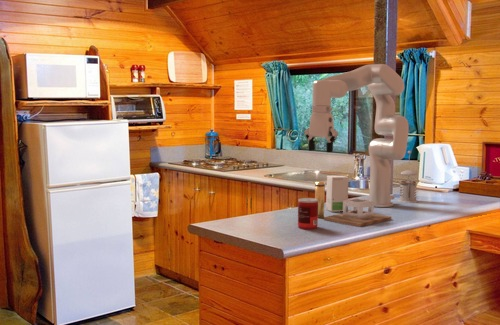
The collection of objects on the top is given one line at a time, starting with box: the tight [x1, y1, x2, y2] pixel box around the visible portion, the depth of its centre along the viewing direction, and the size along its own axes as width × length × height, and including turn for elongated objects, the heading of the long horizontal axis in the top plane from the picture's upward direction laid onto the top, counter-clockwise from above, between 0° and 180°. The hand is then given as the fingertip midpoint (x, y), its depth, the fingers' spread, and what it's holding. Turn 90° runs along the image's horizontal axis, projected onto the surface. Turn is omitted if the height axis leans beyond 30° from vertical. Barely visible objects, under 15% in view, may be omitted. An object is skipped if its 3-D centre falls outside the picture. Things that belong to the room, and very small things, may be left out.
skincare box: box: [325, 175, 350, 213], centre depth 269 cm, size 8×7×16 cm
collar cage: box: [342, 197, 375, 220], centre depth 249 cm, size 9×9×7 cm
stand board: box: [323, 212, 392, 228], centre depth 250 cm, size 22×18×1 cm
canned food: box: [297, 197, 319, 230], centre depth 233 cm, size 8×8×11 cm
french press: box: [397, 150, 419, 204], centre depth 295 cm, size 10×12×25 cm
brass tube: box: [314, 181, 326, 219], centre depth 253 cm, size 4×4×15 cm
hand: (320, 151), depth 251 cm, fingers open, 9 cm apart
